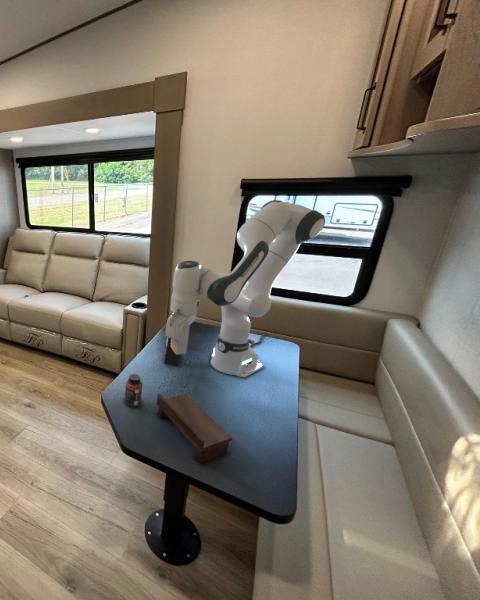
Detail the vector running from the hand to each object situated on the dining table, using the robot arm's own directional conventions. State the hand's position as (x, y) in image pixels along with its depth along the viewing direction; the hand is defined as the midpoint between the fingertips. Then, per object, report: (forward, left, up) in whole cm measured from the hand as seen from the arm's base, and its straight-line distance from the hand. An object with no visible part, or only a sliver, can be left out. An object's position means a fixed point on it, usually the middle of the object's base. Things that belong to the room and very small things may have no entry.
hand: (179, 339), depth 119 cm
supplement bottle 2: (-19, -27, -22) cm, 39 cm away
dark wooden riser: (+10, +22, -22) cm, 33 cm away
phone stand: (-12, -17, -22) cm, 30 cm away
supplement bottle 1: (+20, +2, -22) cm, 30 cm away
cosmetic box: (0, 0, -5) cm, 5 cm away
